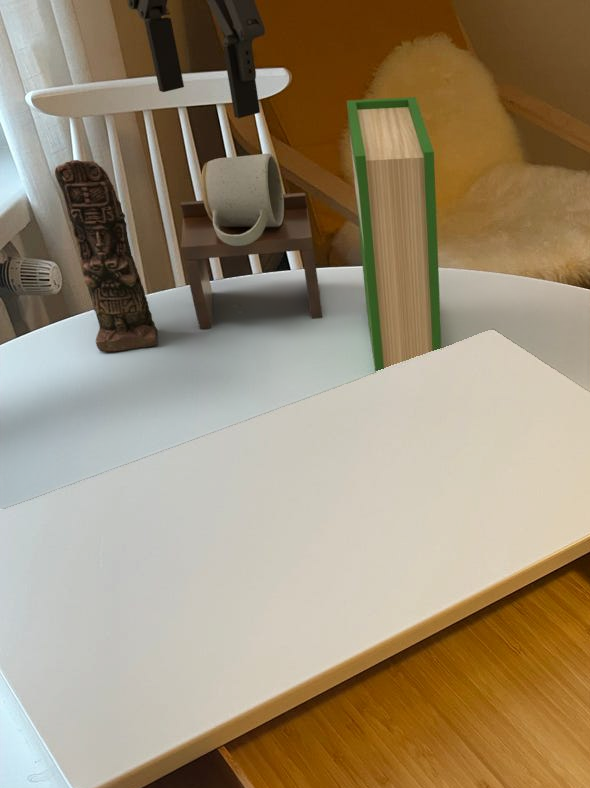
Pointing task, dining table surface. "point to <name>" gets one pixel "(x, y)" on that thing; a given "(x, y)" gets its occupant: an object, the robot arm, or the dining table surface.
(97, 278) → the statue
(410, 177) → the hardback book
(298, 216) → the wooden step stool
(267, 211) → the ceramic mug
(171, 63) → the robot arm
